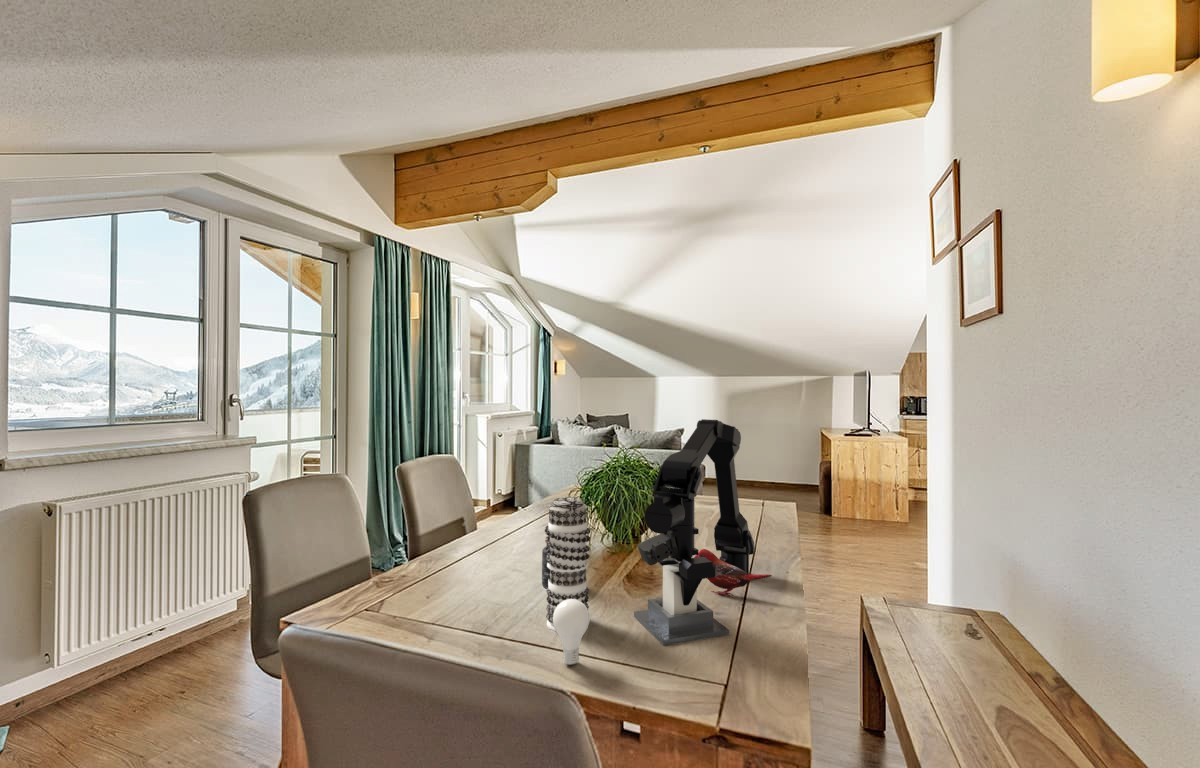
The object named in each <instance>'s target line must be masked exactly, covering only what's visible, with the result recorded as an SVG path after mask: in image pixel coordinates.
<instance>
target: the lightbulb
mask: <svg viewBox="0 0 1200 768" xmlns="http://www.w3.org/2000/svg"><path fill="white" fill-rule="evenodd" d="M590 617H591V616H590V612H589V608H588V609H587V607H586V606H585V605H584V603H582V602H581V601H579V600H577V599H566V600H564V601H562V602H561V603H559V604H558V606H557V607H556V608H555V611H554V613H553V625H554V628H555V630H556V631H557V632H556V631H555V632H556V633H557V635H559V638H560V641H561V646H562V647H563V649H562V650H563V652H562V654H563V657H562V658H563V660H562V661H563V663H564V664H566V665H568V666H574V665H576V664H577V663H579V661H580V660H579V659H580V646H581V643H582V638H583V636H584V634H585V633H586V631H587V630H588V628H589V626H590V621H591V618H590Z"/></svg>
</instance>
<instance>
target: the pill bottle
mask: <svg viewBox="0 0 1200 768" xmlns="http://www.w3.org/2000/svg"><path fill="white" fill-rule="evenodd" d="M549 541H550V540H549ZM545 544H546V545H547V543H546V542H545ZM545 548H546V546H544V547H543V548H542V551H541V552H542V557H541V559H542V561H541V585H542V587H543V588H545V589H548V580H549V568H548V567H547V563H548V562H547V560H546V557H547V554H548V553H547V550H546V549H545ZM549 559H550V558H549Z"/></svg>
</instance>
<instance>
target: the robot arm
mask: <svg viewBox="0 0 1200 768" xmlns="http://www.w3.org/2000/svg"><path fill="white" fill-rule="evenodd" d="M696 423H697V424H696V427H695V429H694V431H693V432H692V433H691V435H690V437H689V438H688V439H687V441H686V443H685V444H684V445H683V447H682V448H681V450H679V451H677V452H674V453H672V454H670V455H669V456H668V457H667V458H666V459H665V460H664V461H663V462H662V464H661V465H660V467H659V470H658V474H657V478H656V481H655V484H654V486H653V490H652V495H654V496H653V502H651V503H650V504H649V505H648V506H647V507H646V509H645V512H644V515H643V516H644V522H645V524H646V527H648V530H650V531H651V532H653V533H655V534H658V535H654V536H652V537H650V538H647V539H645V540H644V541H642V542H640V543H638V544H637V548H638V550H639V553H640V556H641V557H640V558H641V560H642V561H643V562H645V563H646V564H647V565H648V566H655V565H656V564H659V566H661V567H662V568H663V566H664V565H672V564H679V572H674V574H675V575H676V576H677V577H678V578H679V579H680V583H681V592H682V600H683V605H684V606H686V605H689V604H690V602H691V600H692V598H693V596H694V594H695V592H696V590H697V591H698V588H699V586H700V585H701V582H702V581H703V580H704V579H707V578H713V577H716V570H717V566H716V565H715V564H714V563H713V562H712V561H710V560H708V559H706V558H705V557H696V558H694V556H696V555H698V553H699V549H698V548H696V547H695V535H699V534H700V533H699V532H700V531H699V528H698V527H695V498H696V497H697V496H698V494H697V492H698V489H699V486H700V483H701V481H702V477H703V475H702V470H701V465H702V463H703V462H704V461H705V458H706V457H707V456H708V457H709V459H710V460H711V461H712V462H713V463H714V464H713V465H714V471H715V472H714V473H715V480H716V489H717V497H718V498H717V499H718V507H719V515H720V516H719V518H718V520H717V522H716V523H715V526H714V528H713V529H714V532H713V533H714V534H713V538H714V547H715V550H716V551H717V552H720V556H719V559H720V560H721V561H723V562H725V563H728V564H730V565H733V566H735V567H737V568H739V569H741V570H743V571H745V572H746V573H748V574H750V575H752V574H751V573H750V572H749V571H750V568H749V567H750V565H749V564H750V555H755V548H756V547H755V540H754V538H753V536H752V534H751V531H750V529H749V525H748V524H749V523H748V521H747V519H746V518H745V517H744V516H743V514H742V513H741V512H740V503H739V496H738V485H737V484H738V483H737V477H736V475H737V474H736V466H735V458H736V456H737V454H738V452H739V450H740V448H741V447H740V445H741V440H742V436H741V435H742V434H741V432H740V430H739V429H738V428H736V427H735V426H732V425H730V424H726V423H724V422H722V421H720V420H718V419H705V418H704V419H703V418H702V419H699V420H697V422H696Z"/></svg>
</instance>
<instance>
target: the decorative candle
mask: <svg viewBox="0 0 1200 768" xmlns="http://www.w3.org/2000/svg"><path fill="white" fill-rule="evenodd" d="M588 508H589V507H588V505H586V504H585V503H584V502H583V500H582V499H581V498H578V497H574V496H561V497H558V498H555V499H553V501H551V504H550V505H547V509H548V510H549V513H548V514H549V515H548V518H549V520H548V525H546V527H545V528H544V533H545V535H546V537H545V544H546V543H547V544H546V546H545V547H546V548H545V549H546V550H547V553H548V554H547V557H546V560H547V562H548V563H547V567H548V568H549V580H548V588H546V593H547V597H546V602H547V603H548V604H547V605H546V607H545V609H546V612H547V613H546V615H545V616H546V626H547V628H548V629H549V630H552V631H553V632H556V633H557V631H556V630H555V628H554V625H553V613H554V611H555V608H556V607H557V606H558V604H559V603H561V602H562V601H564V600H566V599H577V600H579V601H581V602H582V603H584V605H585V606H586V607H587V609H588V610H589V608H590V606H589V603H588V602H589V599H590V598H589V596H588V594H589V591H590V589H589V587H588V578H587V568H589V561H587V560H588V559H589V558H590V556H591V555H590V554H589V553H588V552H589V551H590V548H591V547H590V546H589V545H588V544H587V542H590V540H591V537H590V536H589V534H590V533H591V528H589V527H588V520H587V509H588ZM549 540H550V541H549ZM549 558H550V559H549Z"/></svg>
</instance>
